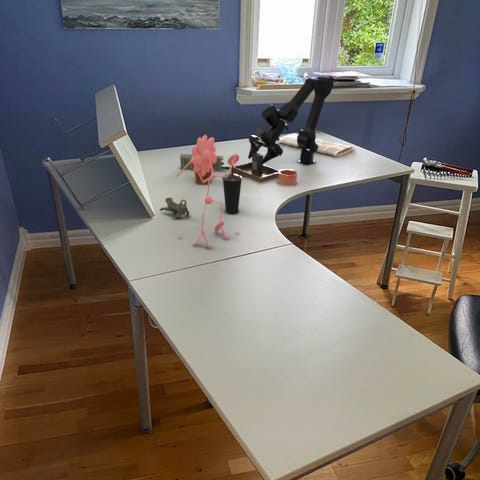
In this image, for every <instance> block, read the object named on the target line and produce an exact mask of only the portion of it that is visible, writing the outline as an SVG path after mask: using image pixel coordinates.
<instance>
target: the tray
mask: <svg viewBox="0 0 480 480" xmlns="http://www.w3.org/2000/svg"><path fill="white" fill-rule="evenodd" d="M280 170H281V169H280ZM280 170H279V169H278V168H274V167H271V166H269V165H266V164H263V172H262V175H259V176H258V175H255V174H253V173H252V161H249V162H245V163H242V164H238V165H235V166H234V165H233V174H237V175H240V176H241V177H242V178H247V179H249V180H252V181H254V182H257V183H259V184H261V183H265V182H268V181H271V180H275V179H278V173H279V171H280Z"/></svg>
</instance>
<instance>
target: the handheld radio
mask: <svg viewBox="0 0 480 480" xmlns="http://www.w3.org/2000/svg"><path fill="white" fill-rule="evenodd" d="M216 158H217V162H216V163H214V164H212V167H213V170H214V172H224V170H226V171H227V170H228V171H229V169H230V166H223V165H225V162H224V155H216ZM179 159H180V169H181V170H183V168H184V167H185V166H186V165H187V164H188V163H189V162H190V161H191V159H192V153H180V154H179ZM193 168H194V165H193V164H192V162H191V163H190V164H189V165H188V166H187V167H186V168H185V169H184V170H193Z"/></svg>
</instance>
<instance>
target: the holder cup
mask: <svg viewBox="0 0 480 480" xmlns="http://www.w3.org/2000/svg"><path fill="white" fill-rule="evenodd" d="M297 181H298V171H296V170H295V169H289V168H283V169H280V171H279V173H278V178H277V183H278V184H279V185H281V186H294V185H296V184H297Z"/></svg>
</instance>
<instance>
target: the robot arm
mask: <svg viewBox="0 0 480 480" xmlns="http://www.w3.org/2000/svg"><path fill="white" fill-rule="evenodd" d="M334 85H335V82H334V79H333V78H332V77H329V76H324V75H319V76H317V77H308V78H306V79H305V82H304V83H303V85H302V86H301V87H300V88H299V90H298V91H297V92H296V93H295V95H294V96H293V97H292V98H291V99H290V100H289V101H287V102H285V103H284V104H283V105H282V106H281V107H280V108H279V109H277V108H276V106H275V105H273V104H270V106H268V107H265V109H263V110H262V112H261V118H262V119H263V120H264V121H265V122H266V124H267V125H268V126H269V128H266V129H263V128H260V127H256V129H255V132H254V134H251V135H250V136H249V137H248V142H249V144H250V148H249V152H248V156H247V159H248V160H250V159H252V153H259V152H260V150H261V149H260V148H262V147H263V148H266V149H267V151H266V152H265V155H263V160H262V162H261V164H263V165H265V164H266V163H268V162H270V161H271V160H273V159H275V158H278V157H281V156H282V155H283V154H284V149H283V148H282V147H281V146H280V144H279V143H276V142H278V141H279V140H280V137H281V135H282V134H283V132H284V131H287V132H288V131H289V123H293V122H294V121H295V119H296V118H297V116H298V114H299V109H300V108H301V106H302V105H303V104H304V103H305V101H306V100H308V98H309V96H310V95H311V94H312V92H313V91H314V98H313V100H312V104H311V107H310V109H309V113H308V116H307V120H306V122H305V125H304V127H303V128H302V129H299V130H298V133H297V134H298V136H297V143H298V147H297V148H298V149H299V150H300V155H299V160H297V162H298V163H300V164H302V165H303V164H304V165H306V166H307V165H312V164H314V163H316V161H315V160H314V155H315V153H317V152H316V151H317V150H318V145H317V144H316V142H315V139H317V135H316V128H317V125H318V121H319V119H320V115H321V112H322V109H323V107H324V103H325V100H326V98H327V97H328V96H329V95H330V94H331V92H332V90H333V88H334ZM285 122H287V123H285Z"/></svg>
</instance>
